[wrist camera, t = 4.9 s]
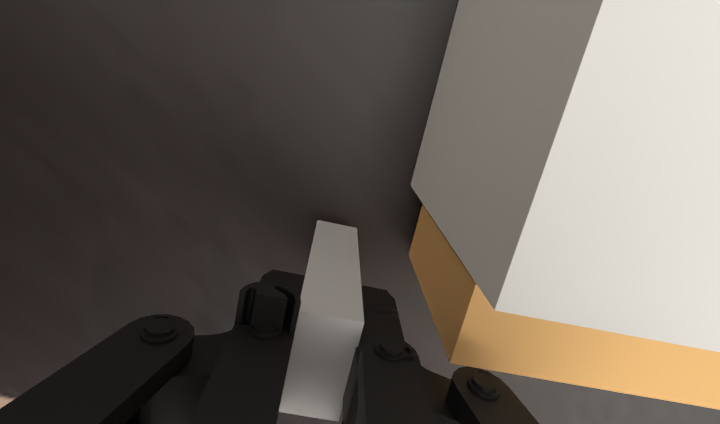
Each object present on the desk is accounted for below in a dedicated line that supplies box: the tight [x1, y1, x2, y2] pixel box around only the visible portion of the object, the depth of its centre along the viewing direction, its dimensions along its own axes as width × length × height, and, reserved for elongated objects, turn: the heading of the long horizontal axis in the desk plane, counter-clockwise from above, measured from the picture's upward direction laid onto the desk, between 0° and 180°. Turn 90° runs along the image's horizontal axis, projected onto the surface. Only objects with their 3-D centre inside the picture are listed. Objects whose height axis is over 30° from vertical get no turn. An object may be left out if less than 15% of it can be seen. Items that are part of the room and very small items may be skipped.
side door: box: [409, 204, 720, 410], centre depth 14 cm, size 8×2×7 cm, turn 77°
